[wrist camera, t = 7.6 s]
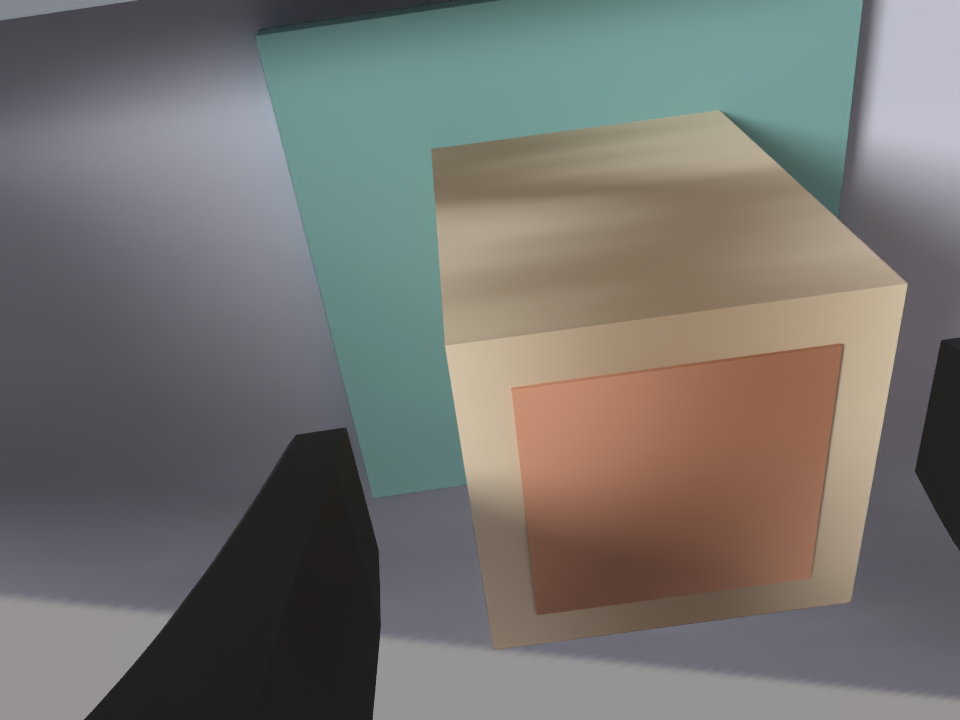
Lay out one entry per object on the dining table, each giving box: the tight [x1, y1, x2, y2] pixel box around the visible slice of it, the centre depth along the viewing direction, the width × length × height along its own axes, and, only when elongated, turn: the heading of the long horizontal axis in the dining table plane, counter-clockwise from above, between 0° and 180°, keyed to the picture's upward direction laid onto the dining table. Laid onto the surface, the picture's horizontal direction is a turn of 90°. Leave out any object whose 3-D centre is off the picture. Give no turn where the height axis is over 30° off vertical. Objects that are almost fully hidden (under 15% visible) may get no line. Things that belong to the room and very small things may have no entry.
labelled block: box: [431, 110, 908, 650], centre depth 12 cm, size 5×5×6 cm
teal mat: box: [255, 0, 863, 498], centre depth 15 cm, size 9×9×1 cm
